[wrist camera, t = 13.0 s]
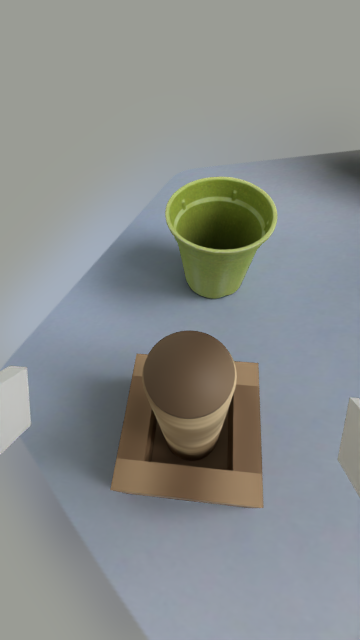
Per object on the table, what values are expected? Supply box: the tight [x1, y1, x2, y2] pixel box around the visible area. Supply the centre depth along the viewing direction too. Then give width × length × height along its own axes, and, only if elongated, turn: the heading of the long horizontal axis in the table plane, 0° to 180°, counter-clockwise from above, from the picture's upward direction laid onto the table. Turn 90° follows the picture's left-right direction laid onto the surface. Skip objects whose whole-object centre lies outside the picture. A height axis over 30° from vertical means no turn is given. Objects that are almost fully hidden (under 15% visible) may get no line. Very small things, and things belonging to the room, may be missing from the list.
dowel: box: [142, 331, 237, 461], centre depth 18 cm, size 4×4×12 cm
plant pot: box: [165, 177, 277, 298], centre depth 29 cm, size 9×9×9 cm
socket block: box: [110, 354, 263, 508], centre depth 22 cm, size 9×9×5 cm
